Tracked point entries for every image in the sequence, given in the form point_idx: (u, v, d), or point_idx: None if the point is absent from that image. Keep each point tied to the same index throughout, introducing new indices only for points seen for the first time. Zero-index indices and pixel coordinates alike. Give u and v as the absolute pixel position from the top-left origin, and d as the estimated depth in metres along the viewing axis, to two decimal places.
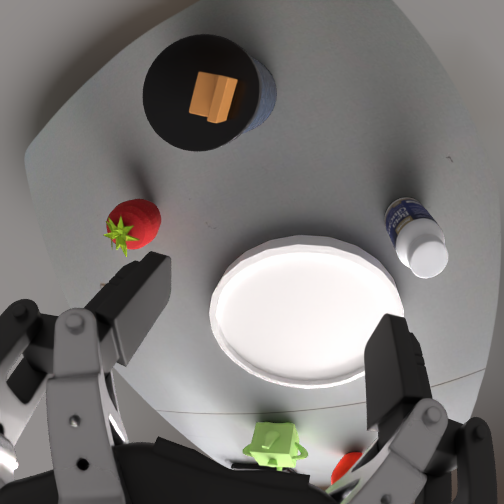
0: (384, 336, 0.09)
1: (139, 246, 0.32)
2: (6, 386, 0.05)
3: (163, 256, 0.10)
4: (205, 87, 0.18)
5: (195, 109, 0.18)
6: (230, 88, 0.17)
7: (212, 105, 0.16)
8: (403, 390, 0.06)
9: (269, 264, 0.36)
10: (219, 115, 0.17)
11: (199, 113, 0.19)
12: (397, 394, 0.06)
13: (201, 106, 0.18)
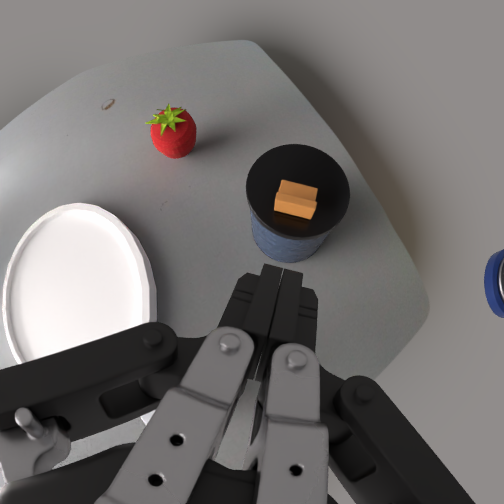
0: (279, 289, 0.10)
1: (153, 136, 0.32)
2: (96, 401, 0.05)
3: (279, 268, 0.10)
4: (303, 193, 0.24)
5: (284, 185, 0.24)
6: (304, 212, 0.23)
7: (290, 196, 0.22)
8: (270, 332, 0.08)
9: (127, 261, 0.34)
10: (281, 202, 0.22)
11: (281, 188, 0.24)
12: (268, 337, 0.08)
13: (287, 190, 0.24)
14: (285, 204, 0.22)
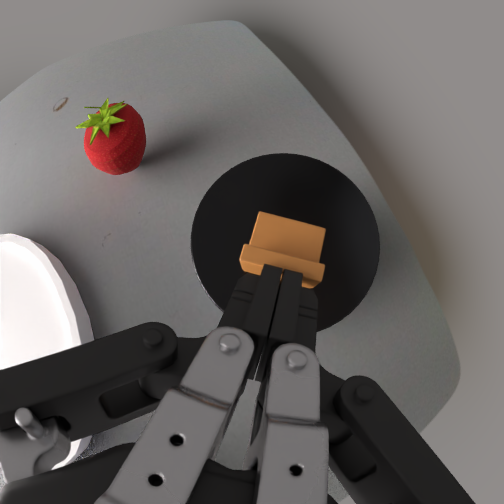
0: (279, 289, 0.10)
1: (85, 145, 0.21)
2: (96, 401, 0.05)
3: (279, 268, 0.10)
4: (299, 238, 0.13)
5: (263, 222, 0.13)
6: None
7: (271, 253, 0.11)
8: (270, 332, 0.08)
9: (60, 316, 0.22)
10: (253, 265, 0.11)
11: (256, 228, 0.13)
12: (268, 337, 0.08)
13: (268, 232, 0.13)
14: (260, 268, 0.11)
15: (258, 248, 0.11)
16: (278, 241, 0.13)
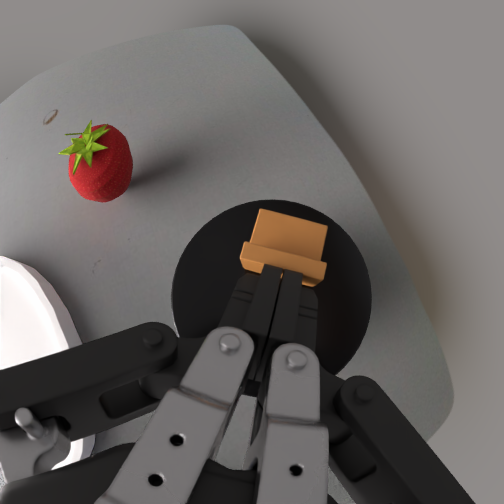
0: (279, 289, 0.10)
1: (69, 172, 0.20)
2: (96, 401, 0.05)
3: (279, 268, 0.10)
4: (301, 236, 0.13)
5: (264, 219, 0.13)
6: None
7: (272, 251, 0.11)
8: (270, 332, 0.08)
9: (54, 343, 0.22)
10: (253, 263, 0.11)
11: (257, 225, 0.13)
12: (268, 337, 0.08)
13: (269, 229, 0.13)
14: (261, 266, 0.11)
15: (259, 246, 0.11)
16: (279, 239, 0.13)
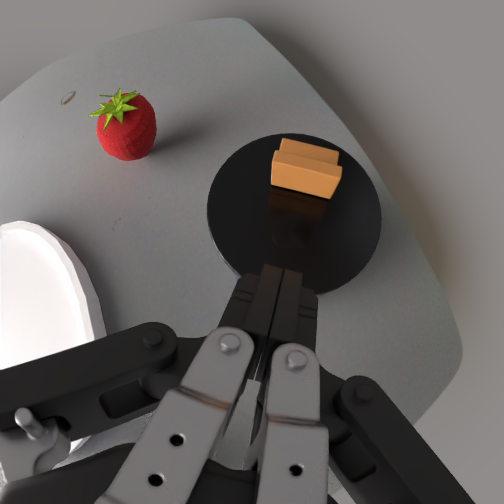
0: (279, 289, 0.10)
1: (98, 132, 0.22)
2: (96, 401, 0.05)
3: (279, 268, 0.10)
4: (318, 158, 0.15)
5: (287, 145, 0.15)
6: (320, 185, 0.13)
7: (298, 157, 0.13)
8: (270, 332, 0.08)
9: (70, 299, 0.23)
10: (283, 167, 0.13)
11: (281, 150, 0.15)
12: (268, 337, 0.08)
13: (291, 152, 0.15)
14: (289, 171, 0.13)
15: (287, 153, 0.13)
16: None
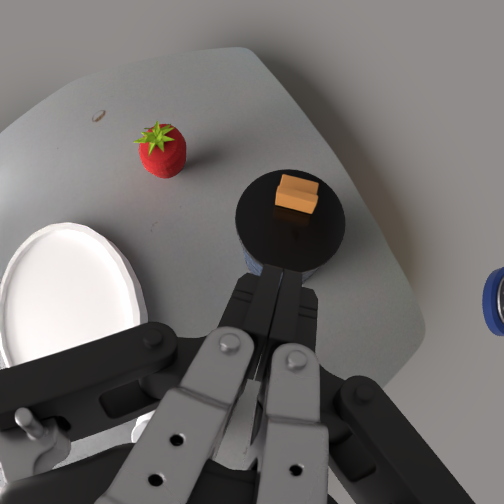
0: (278, 289, 0.10)
1: (141, 155, 0.31)
2: (96, 401, 0.05)
3: (279, 268, 0.10)
4: (304, 187, 0.24)
5: (285, 179, 0.24)
6: (305, 206, 0.23)
7: (292, 190, 0.22)
8: (270, 332, 0.08)
9: (117, 284, 0.33)
10: (283, 196, 0.22)
11: (282, 182, 0.24)
12: (268, 337, 0.08)
13: (288, 184, 0.24)
14: (286, 198, 0.22)
15: (285, 187, 0.22)
16: (293, 189, 0.24)
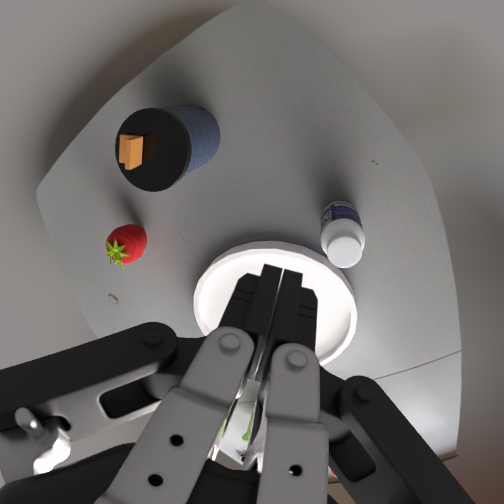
0: (278, 289, 0.10)
1: (131, 260, 0.42)
2: (96, 401, 0.05)
3: (279, 268, 0.10)
4: (125, 145, 0.27)
5: (122, 160, 0.28)
6: (136, 145, 0.26)
7: (126, 159, 0.26)
8: (270, 332, 0.08)
9: (233, 267, 0.45)
10: (131, 164, 0.27)
11: (124, 162, 0.28)
12: (268, 337, 0.08)
13: (125, 157, 0.28)
14: (132, 161, 0.27)
15: (125, 163, 0.27)
16: None
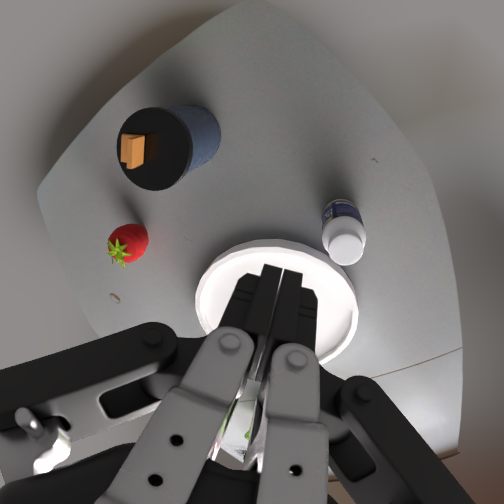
0: (279, 289, 0.10)
1: (133, 259, 0.42)
2: (96, 401, 0.05)
3: (279, 268, 0.10)
4: (126, 144, 0.28)
5: (124, 159, 0.28)
6: (138, 144, 0.27)
7: (127, 158, 0.26)
8: (270, 332, 0.08)
9: (235, 265, 0.45)
10: (133, 163, 0.27)
11: (126, 161, 0.29)
12: (268, 337, 0.08)
13: (126, 157, 0.28)
14: (134, 160, 0.27)
15: (127, 163, 0.27)
16: None
